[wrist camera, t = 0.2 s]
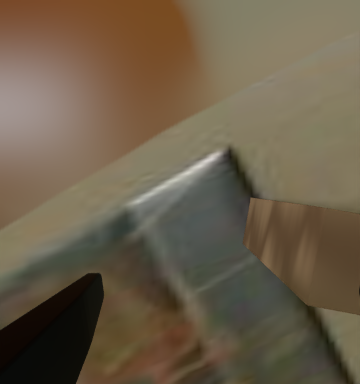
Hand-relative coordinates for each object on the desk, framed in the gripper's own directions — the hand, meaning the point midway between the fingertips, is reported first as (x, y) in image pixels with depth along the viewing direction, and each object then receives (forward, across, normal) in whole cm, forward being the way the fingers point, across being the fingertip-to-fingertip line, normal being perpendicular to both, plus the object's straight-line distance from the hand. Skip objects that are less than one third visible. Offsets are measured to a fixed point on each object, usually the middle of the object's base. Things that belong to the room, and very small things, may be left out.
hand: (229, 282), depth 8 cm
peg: (+15, -7, +5) cm, 17 cm away
